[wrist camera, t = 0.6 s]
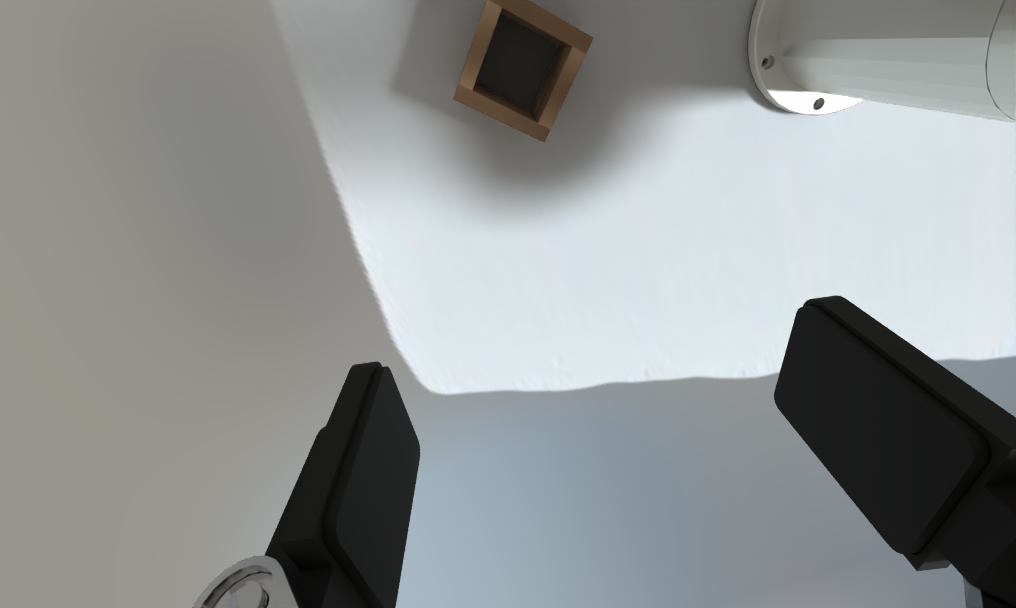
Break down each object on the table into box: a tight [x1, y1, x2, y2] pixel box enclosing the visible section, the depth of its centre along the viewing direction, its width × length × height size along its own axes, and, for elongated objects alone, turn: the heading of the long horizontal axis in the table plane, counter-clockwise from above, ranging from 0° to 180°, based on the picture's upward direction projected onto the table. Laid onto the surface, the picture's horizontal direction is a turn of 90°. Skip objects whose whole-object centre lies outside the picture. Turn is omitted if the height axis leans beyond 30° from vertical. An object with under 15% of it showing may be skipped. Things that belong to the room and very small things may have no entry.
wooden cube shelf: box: [453, 0, 593, 142], centre depth 27 cm, size 6×6×6 cm
